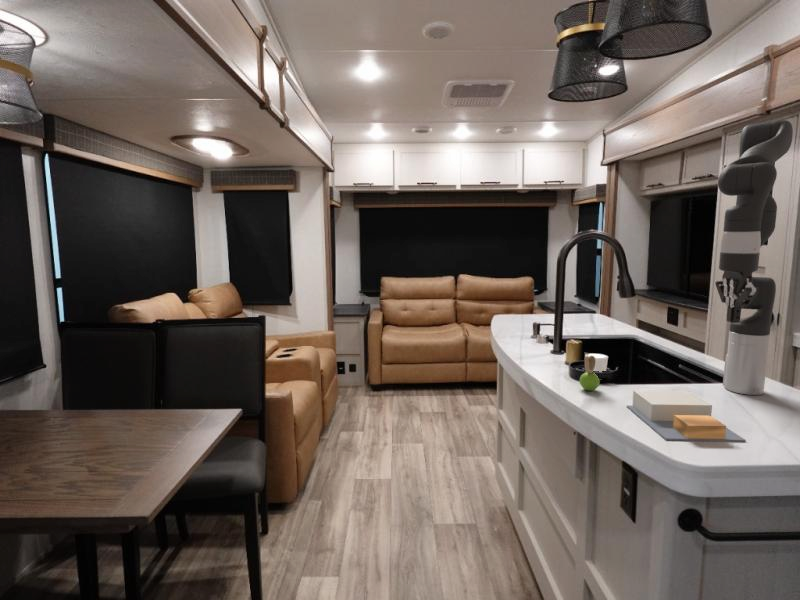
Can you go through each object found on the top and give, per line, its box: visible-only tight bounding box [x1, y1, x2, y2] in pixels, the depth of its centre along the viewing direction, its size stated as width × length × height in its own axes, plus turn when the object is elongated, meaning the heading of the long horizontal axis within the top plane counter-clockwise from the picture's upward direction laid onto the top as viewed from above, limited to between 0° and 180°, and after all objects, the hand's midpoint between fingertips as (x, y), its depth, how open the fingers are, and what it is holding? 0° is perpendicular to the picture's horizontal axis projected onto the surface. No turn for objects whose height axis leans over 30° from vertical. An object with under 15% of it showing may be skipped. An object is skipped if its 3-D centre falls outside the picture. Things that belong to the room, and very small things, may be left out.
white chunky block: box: [584, 352, 609, 372], centre depth 146 cm, size 7×7×7 cm
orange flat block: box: [673, 415, 727, 439], centre depth 102 cm, size 6×8×3 cm
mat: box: [626, 405, 747, 443], centre depth 109 cm, size 20×17×1 cm
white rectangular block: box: [632, 390, 713, 421], centre depth 114 cm, size 10×14×4 cm
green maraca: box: [579, 352, 601, 392], centre depth 132 cm, size 5×6×12 cm
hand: (732, 322), depth 110 cm, fingers closed
